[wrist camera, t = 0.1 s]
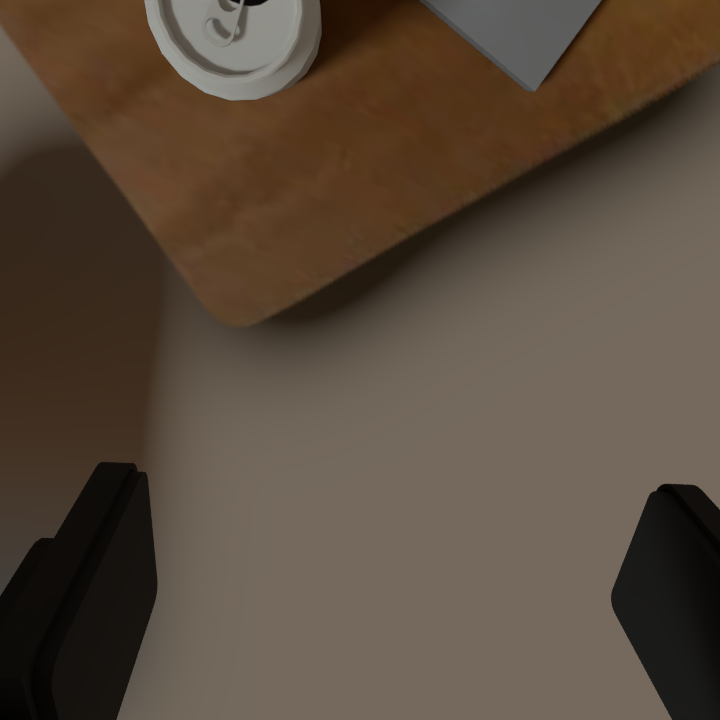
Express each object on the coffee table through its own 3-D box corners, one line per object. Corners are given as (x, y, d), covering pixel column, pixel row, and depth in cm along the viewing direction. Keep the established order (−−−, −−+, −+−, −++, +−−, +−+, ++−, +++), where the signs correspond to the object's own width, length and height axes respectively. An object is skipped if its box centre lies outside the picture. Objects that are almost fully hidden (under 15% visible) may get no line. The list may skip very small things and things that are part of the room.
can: (342, -11, 33) (350, -53, 22) (293, 116, 36) (279, 133, 25) (218, -81, 31) (162, -162, 21) (177, 59, 34) (109, 51, 24)
